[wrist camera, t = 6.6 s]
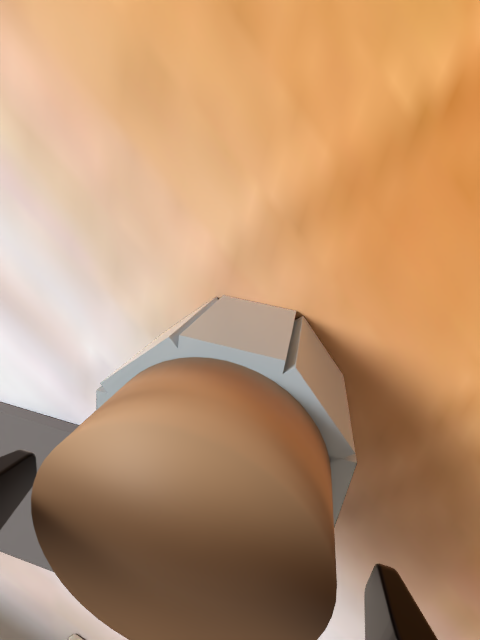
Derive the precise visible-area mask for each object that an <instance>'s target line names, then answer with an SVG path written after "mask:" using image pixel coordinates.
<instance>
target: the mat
mask: <svg viewBox="0 0 480 640" xmlns="http://www.w3.org/2000/svg"><path fill="white" fill-rule="evenodd" d="M77 427H78V425H75V424H72V423H68V422H65V421H62V420H59V419H55V418H52V417H49V416H45V415H42V414H39V413H35V412H32V411H29V410H25V409H22V408H19V407H15V406H12V405H9V404H5V403H2V402H0V457H1V456H3V455H6V454H8V453H11V452H13V451H16V450H20V449H23V450H26V451H30V452H33V453H34V454H35V455H36V463H37V472H38V470H39V468H40V466H41V465H42V463H43V461H44V459H45V458H46V457H47V456H48V455H49V454H50V453H51V451H52V450H53V449H54V448H55V447H56V446H57V445H59V444H60V443H61V442H62V441H63V440H64V439H65V438H66V437H67V436H68V435H70V434H71V433H72V432H73V431H74V430H75V429H76V428H77ZM32 488H33V487H32ZM32 488H31V490H30V491H29V492H28V494H27V495H26V496H25V498H24V499H23V500H22V502H21V503H20V504H19V506H18V507H17V508H16V510H15V511H14V513H13V514H12V515H11V517H10V518H9V519H8V521H7V522H6V523H5V525H4V526H3V527H2V529H1V530H0V552H3V553H5V554H8V555H11V556H13V557H16V558H18V559H21V560H24V561H26V562H29V563H32V564H34V565H37V566H39V567H42V568H45V569H47V570H50V571H53V570H52V568H51V566H50V564H49V563H48V561H47V559H46V557H45V556H44V554H43V551H42V549H41V547H40V544H39V542H38V539H37V536H36V533H35V530H34V526H33V520H32V514H31V495H32ZM53 572H54V571H53Z"/></svg>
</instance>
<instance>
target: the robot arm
mask: <svg viewBox="0 0 480 640" xmlns="http://www.w3.org/2000/svg"><path fill="white" fill-rule="evenodd" d="M36 475H37V463H36V455H35V454H34V453H33V452H30V451H26V450H23V449H20V450H16V451H13V452H11V453H8V454H6V455H3V456H1V457H0V530H1V529H2V527H3V526H4V525H5V523H6V522H7V521H8V519H9V518H10V517H11V515H12V514H13V513H14V511H15V510H16V508H17V507H18V506H19V504H20V503H21V502H22V500H23V499H24V498H25V496H26V495H27V494H28V492H29V491H30V490H31V488H32V487H33V483H34V480H35V477H36ZM365 640H438V639H437V638H436V636H435V634H434V632H433V631H432V629H431V627H430V626H429V624H428V622H427V621H426V619H425V617H424V616H423V614H422V612H421V611H420V609H419V607H418V606H417V604H416V602H415V601H414V599H413V597H412V596H411V594H410V592H409V591H408V589H407V587H406V586H405V584H404V582H403V581H402V579H401V577H400V576H399V574H398V572H397V571H396V570H395V569H393V568H391V567H388V566H385V565H382V564H376V565H375V566H374V568H373V571H372V573H371V575H370V578H369V580H368V582H367V584H366V588H365Z"/></svg>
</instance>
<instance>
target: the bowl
mask: <svg viewBox="0 0 480 640" xmlns="http://www.w3.org/2000/svg"><path fill="white" fill-rule="evenodd" d="M295 315H296V311H294V310H290V309H285V308H280V307H276V306H271V305H267V304H262V303H257V302H253V301H248V300H243V299H239V298H234V297H230V296H225V295H223V296H222V297H221V298H220V299H219V300H218V298H217V297H215V298H213V299H212V300H210V301H209V302H207V303H206V304H205V305H203V306H202V307H200V308H199V309H197V310H196V311H194V312H193V313H191V314H190V315H189V316H187V317H186V318H184V319H183V320H181V321H180V322H178V323H177V324H175V325H174V326H173V327H171V328H170V329H168V330H167V331H165V332H164V333H163V334H161V335H160V336H159V337H158V338H156V339H155V340H154V341H152V342H151V343H150V344H149V345H147V346H146V347H145V348H144V349H142V350H141V351H140V352H139V353H137V354H136V355H135V356H134V357H132V358H131V359H130V360H129V361H127V362H126V363H125V364H124V365H122V366H121V367H120V368H119V369H117V370H116V371H115V372H113V373H112V374H111V375H110V376H108V377H107V378H106V379H105V380H103V381H102V382H101V383H100V384H101V385H102V386H101V387H100V388H99V389H97V391H96V410H97V409H98V408H99V407H101V406H102V405H103V404H104V403H105V402H106V401H107V400H108V399H109V398H111V397H112V396H113V395H114V394H115V393H116V392H117V391H118V390H119V389H120V388H122V387H123V386H124V385H125V384H126V383H127V382H128V381H129V380H131V379H132V378H133V377H134V376H136V375H137V374H138V373H140V372H141V371H143V370H145V369H147V368H148V367H150V366H153V365H155V364H158V363H161V362H163V361H168V360H172V359H177V358H187V357H204V358H214V359H220V360H225V361H229V362H232V363H236V364H239V365H242V366H245V367H247V368H249V369H252V370H254V371H256V372H259V373H260V374H262V375H264V376H265V377H267V378H269V379H271V380H272V381H274V382H275V383H277V384H278V385H279V386H281V387H282V388H283V389H285V390H286V391H288V392H289V393H290V394H291V395H292V396H293V397H294V398H295V399H296V400H297V401H298V402H299V403H300V404H301V405H302V406H303V407H304V409H305V410H306V411H307V412H308V414H309V415H310V416H311V417H312V419H313V421H314V422H315V424H316V425H317V427H318V429H319V430H320V433H321V435H322V437H323V439H324V442H325V444H326V447H327V451H328V454H329V458H330V466H331V479H332V499H333V519H334V527H335V524H336V521H337V518H338V515H339V513H340V510H341V507H342V504H343V501H344V498H345V496H346V493H347V490H348V487H349V484H350V481H351V479H352V476H353V473H354V470H355V467H356V465H357V459H356V453H355V446H354V440H353V433H352V427H351V420H350V414H349V407H348V401H347V394H346V388H345V382H344V375H343V374H342V373H341V371H340V370H339V368H338V367H337V365H336V364H335V362H334V361H333V359H332V358H331V356H330V355H329V353H328V352H327V350H326V349H325V347H324V346H323V344H322V343H321V341H320V340H319V338H318V337H317V335H316V334H315V332H314V331H313V329H312V328H311V326H310V325H309V324H308V322H307V321H306V319H305V318H304V316H301V317H300V318H298V319H296V320H295Z"/></svg>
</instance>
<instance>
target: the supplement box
mask: <svg viewBox="0 0 480 640" xmlns="http://www.w3.org/2000/svg"><path fill="white" fill-rule="evenodd" d="M68 640H83V639H82V638H80V637H79V636H77V635H76V634H73V635H71V636H70V637H69V639H68Z"/></svg>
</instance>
